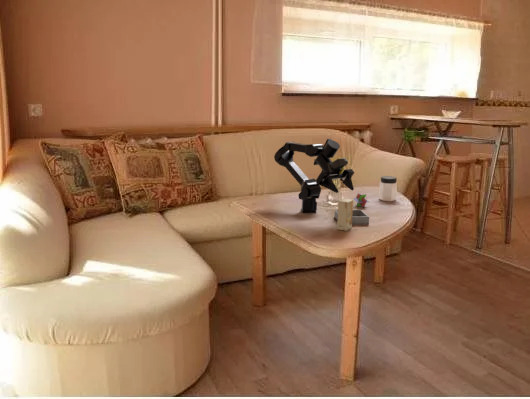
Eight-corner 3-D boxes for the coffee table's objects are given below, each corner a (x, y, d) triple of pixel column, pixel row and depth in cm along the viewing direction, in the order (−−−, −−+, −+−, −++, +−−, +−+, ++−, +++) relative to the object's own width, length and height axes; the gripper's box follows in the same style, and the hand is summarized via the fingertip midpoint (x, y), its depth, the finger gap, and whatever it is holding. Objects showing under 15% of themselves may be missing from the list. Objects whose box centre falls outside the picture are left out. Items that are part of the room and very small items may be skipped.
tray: (341, 224, 196) (341, 217, 196) (334, 217, 208) (334, 209, 207) (368, 224, 197) (369, 216, 197) (360, 216, 209) (360, 209, 208)
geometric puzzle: (373, 203, 226) (367, 189, 228) (363, 205, 222) (357, 190, 224) (364, 209, 231) (358, 195, 234) (354, 211, 228) (348, 197, 230)
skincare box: (346, 231, 187) (348, 202, 185) (336, 229, 190) (338, 201, 187) (352, 227, 193) (353, 199, 190) (342, 225, 195) (344, 198, 192)
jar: (398, 200, 241) (400, 178, 239) (384, 201, 240) (385, 179, 237) (390, 197, 250) (391, 175, 247) (376, 197, 248) (377, 176, 245)
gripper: (319, 153, 193) (338, 180, 186) (350, 150, 204) (370, 176, 196) (307, 171, 201) (326, 198, 193) (338, 168, 211) (357, 193, 204)
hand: (345, 191), depth 196 cm, fingers open, 9 cm apart
